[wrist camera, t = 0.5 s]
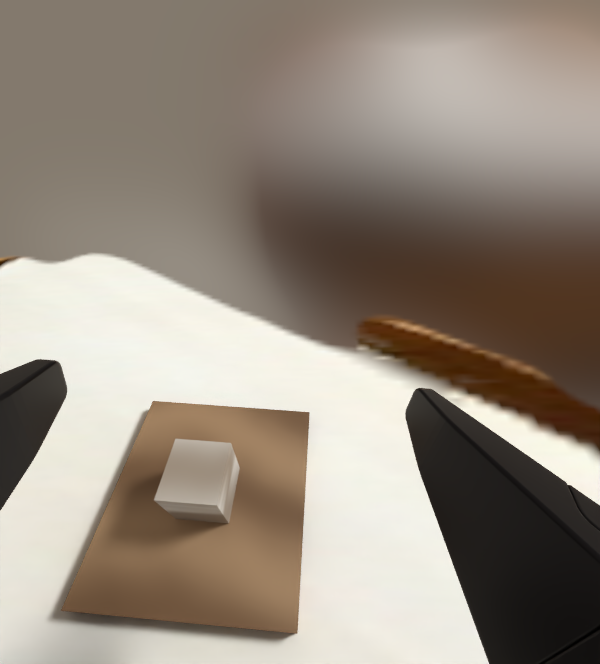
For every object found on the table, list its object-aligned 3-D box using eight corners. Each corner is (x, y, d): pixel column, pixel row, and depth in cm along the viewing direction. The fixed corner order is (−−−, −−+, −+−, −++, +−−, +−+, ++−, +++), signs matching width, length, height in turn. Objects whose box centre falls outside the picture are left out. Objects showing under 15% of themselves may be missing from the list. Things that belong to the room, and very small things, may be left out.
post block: (297, 632, 16) (298, 637, 12) (71, 610, 17) (7, 609, 13) (308, 418, 24) (311, 382, 21) (157, 407, 25) (133, 370, 21)
